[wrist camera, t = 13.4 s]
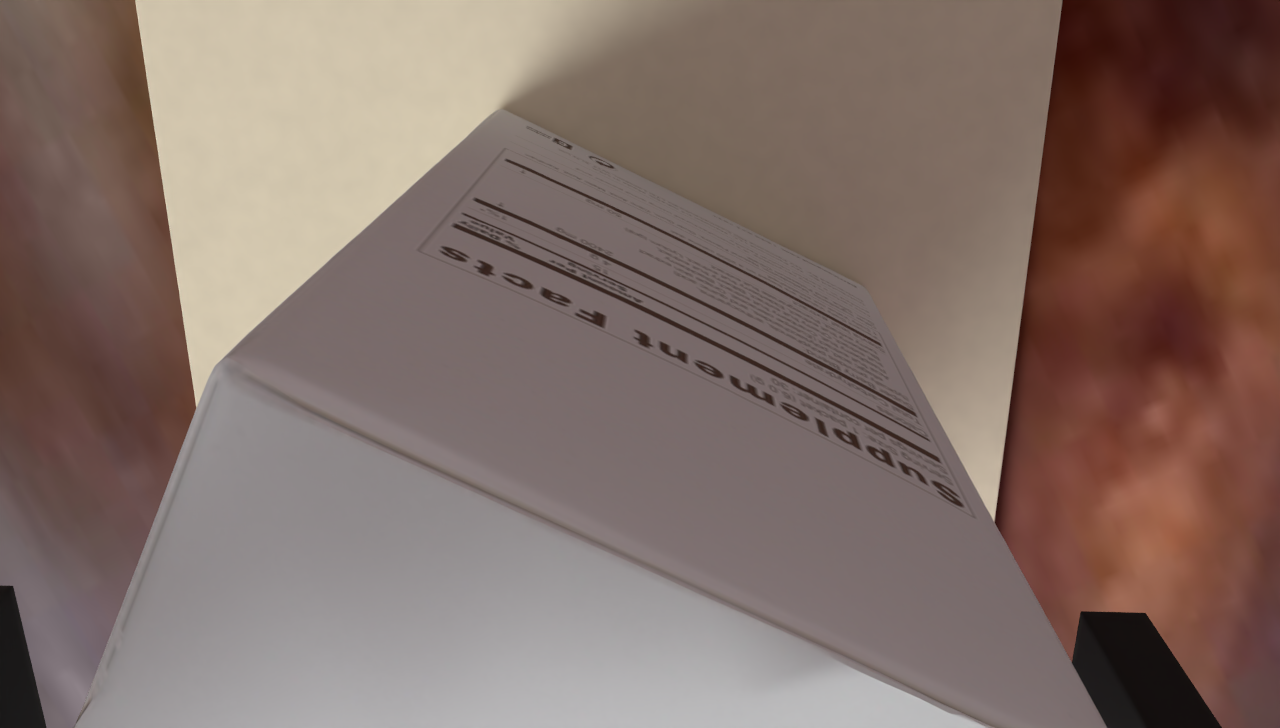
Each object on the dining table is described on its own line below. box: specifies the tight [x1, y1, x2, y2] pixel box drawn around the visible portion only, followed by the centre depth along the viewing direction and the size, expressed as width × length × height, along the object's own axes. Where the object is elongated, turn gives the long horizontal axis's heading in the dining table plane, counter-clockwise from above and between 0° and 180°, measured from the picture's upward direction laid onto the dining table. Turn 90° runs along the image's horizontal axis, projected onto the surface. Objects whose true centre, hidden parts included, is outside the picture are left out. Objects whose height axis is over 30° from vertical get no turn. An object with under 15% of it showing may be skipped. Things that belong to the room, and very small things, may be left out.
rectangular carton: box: [74, 109, 1107, 728], centre depth 17 cm, size 9×9×15 cm
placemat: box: [135, 0, 1062, 522], centre depth 25 cm, size 18×20×1 cm
